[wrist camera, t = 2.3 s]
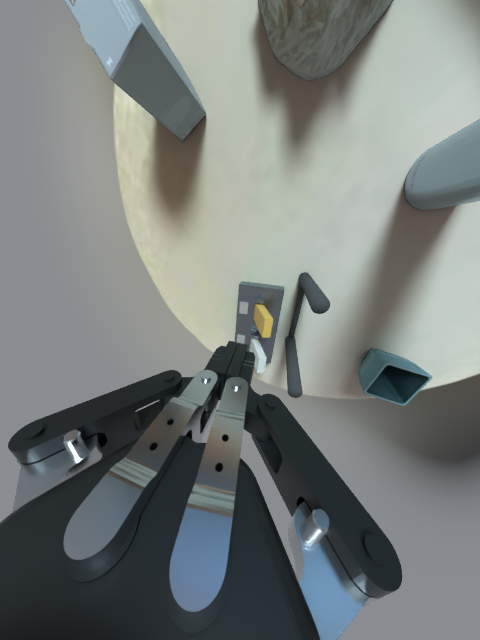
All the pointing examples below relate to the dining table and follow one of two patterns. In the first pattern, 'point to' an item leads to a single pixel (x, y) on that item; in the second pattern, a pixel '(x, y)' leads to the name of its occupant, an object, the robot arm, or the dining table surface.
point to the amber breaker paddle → (263, 320)
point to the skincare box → (139, 60)
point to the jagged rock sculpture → (317, 31)
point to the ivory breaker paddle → (258, 355)
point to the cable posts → (317, 305)
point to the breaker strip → (246, 308)
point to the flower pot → (391, 377)
